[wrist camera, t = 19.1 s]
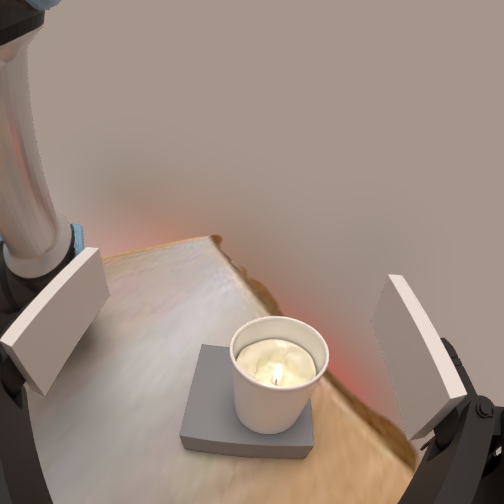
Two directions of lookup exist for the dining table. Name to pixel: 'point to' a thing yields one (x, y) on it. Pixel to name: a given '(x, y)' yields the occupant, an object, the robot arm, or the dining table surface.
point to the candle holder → (275, 371)
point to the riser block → (233, 416)
